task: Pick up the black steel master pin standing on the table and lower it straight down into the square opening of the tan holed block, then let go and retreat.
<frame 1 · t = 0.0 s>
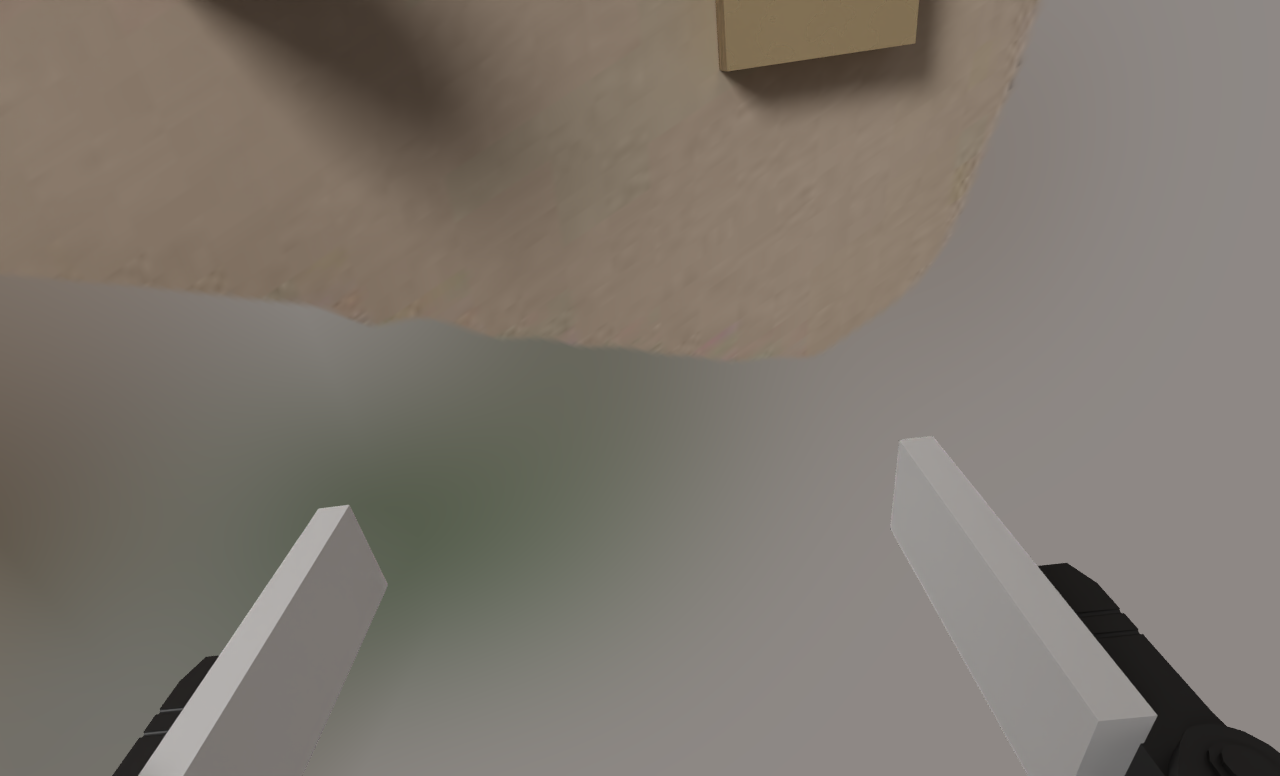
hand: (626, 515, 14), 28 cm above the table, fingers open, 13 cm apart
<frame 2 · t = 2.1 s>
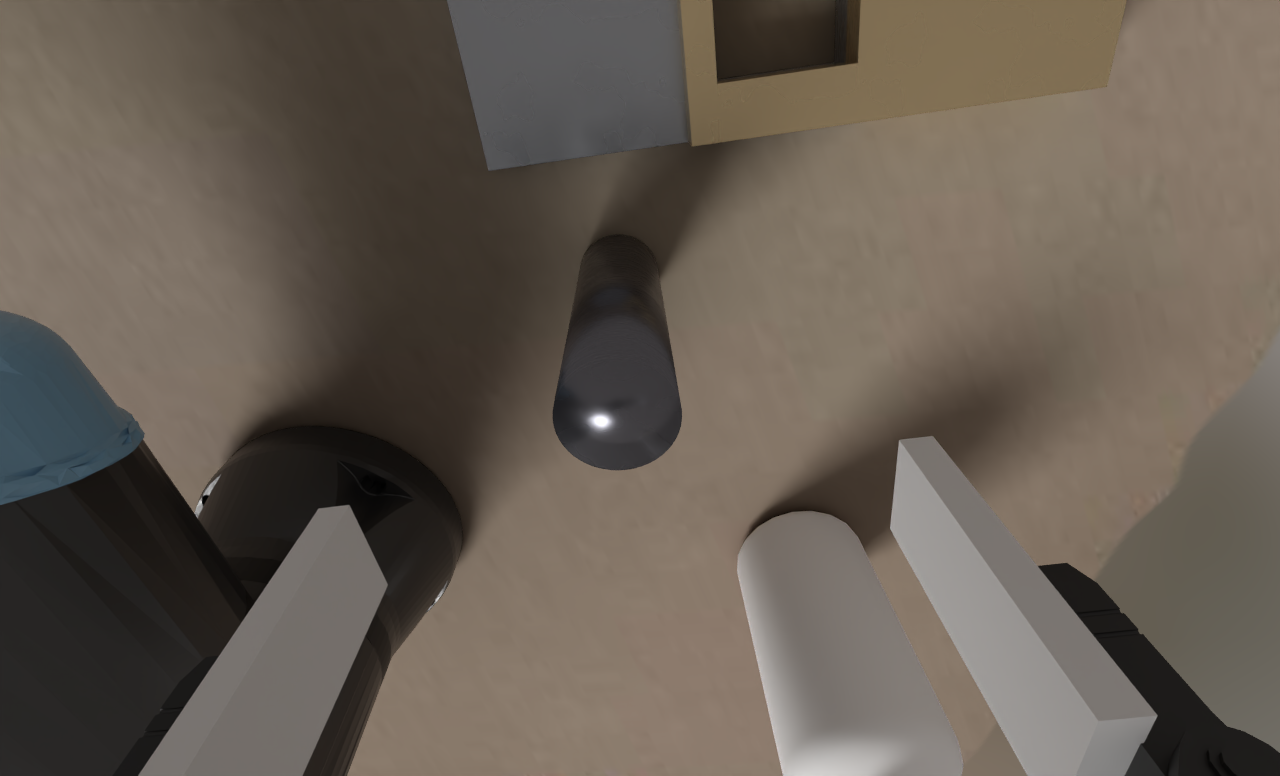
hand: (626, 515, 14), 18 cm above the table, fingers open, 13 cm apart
potion bottle: (794, 547, 41), on the table
master pin: (619, 273, 31), on the table
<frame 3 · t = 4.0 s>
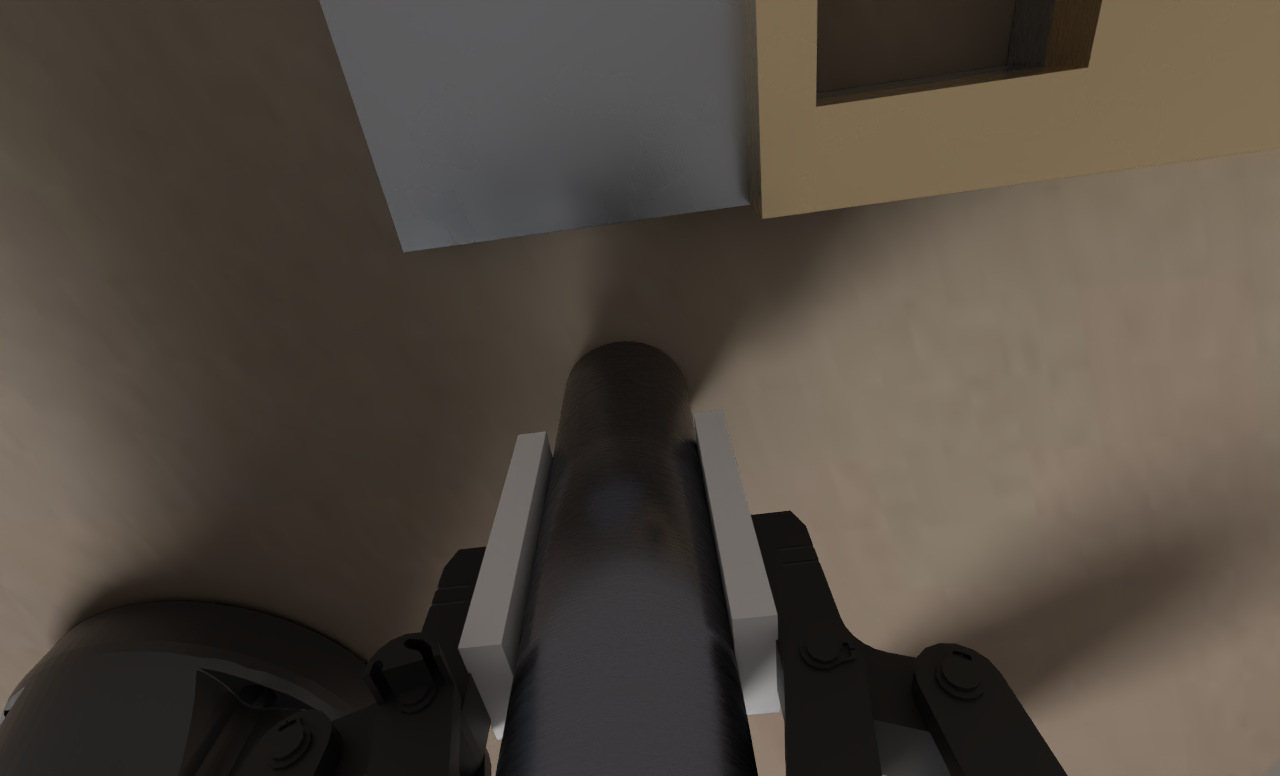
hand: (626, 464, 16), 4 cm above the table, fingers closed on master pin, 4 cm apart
master pin: (626, 397, 19), on the table, touching gripper
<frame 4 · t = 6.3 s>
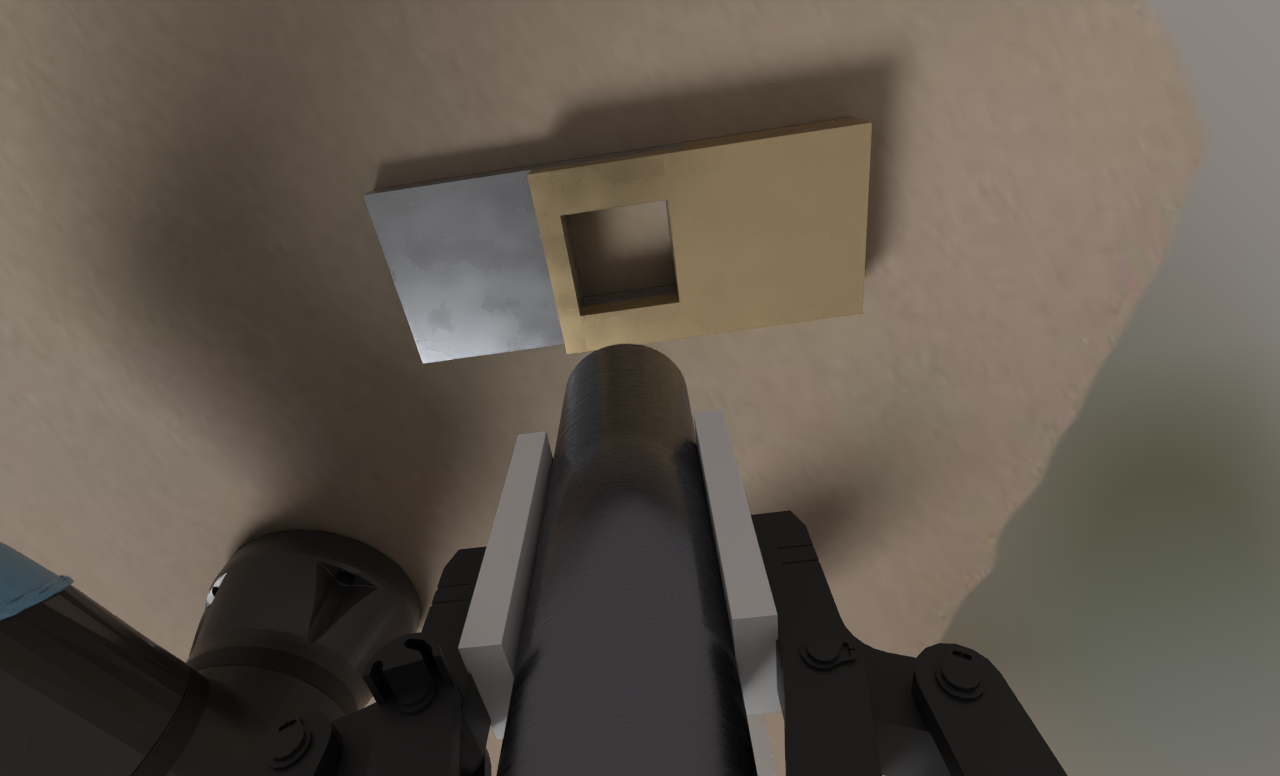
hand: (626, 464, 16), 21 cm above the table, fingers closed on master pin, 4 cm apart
potion bottle: (691, 614, 50), on the table
master pin: (626, 399, 19), point 17 cm above the table, touching gripper
tan holed block: (622, 245, 34), on the table
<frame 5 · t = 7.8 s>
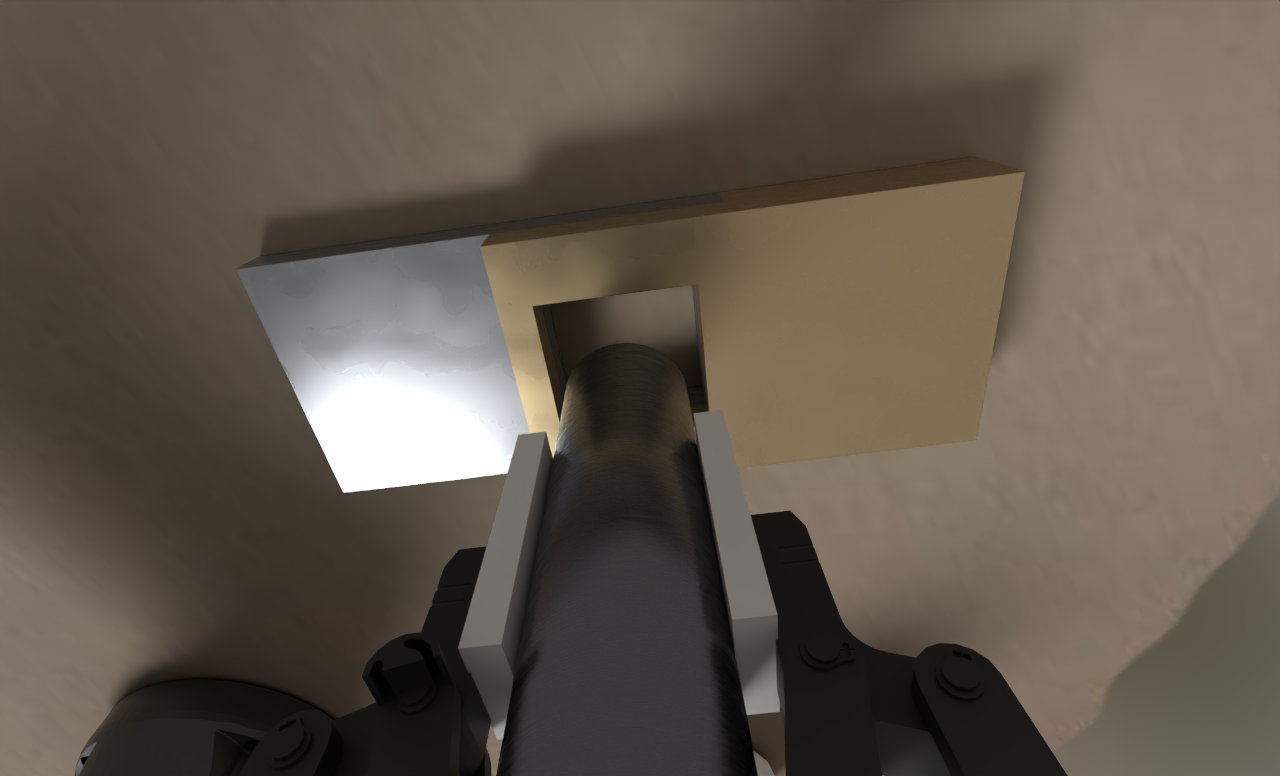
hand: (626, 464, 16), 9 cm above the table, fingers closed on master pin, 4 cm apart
potion bottle: (709, 766, 40), on the table
master pin: (626, 398, 19), point 5 cm above the table, touching gripper
tan holed block: (626, 334, 24), on the table
when the fingers open (5 cm above the table, at t = 8.9 s): master pin stays where it is, resting in tan holed block.
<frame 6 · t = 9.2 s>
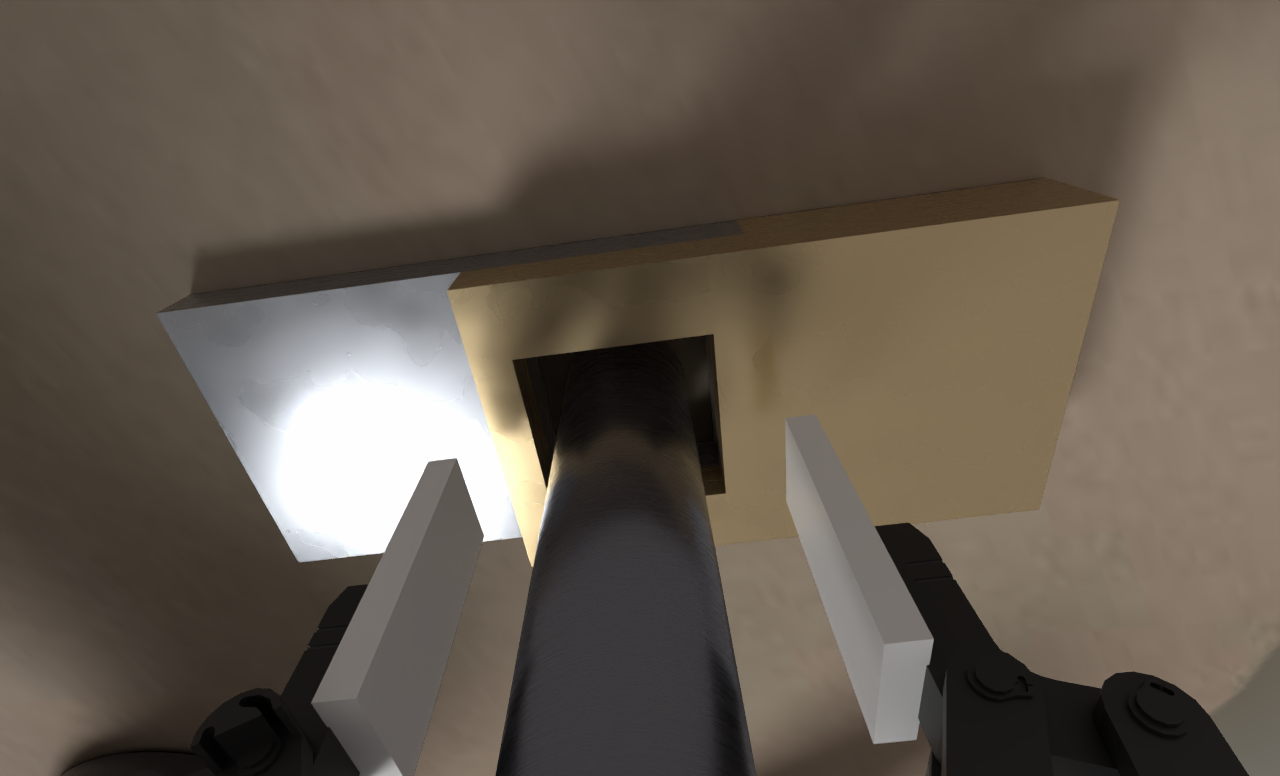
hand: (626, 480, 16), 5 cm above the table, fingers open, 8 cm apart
master pin: (625, 383, 20), resting in tan holed block
tan holed block: (626, 382, 20), on the table
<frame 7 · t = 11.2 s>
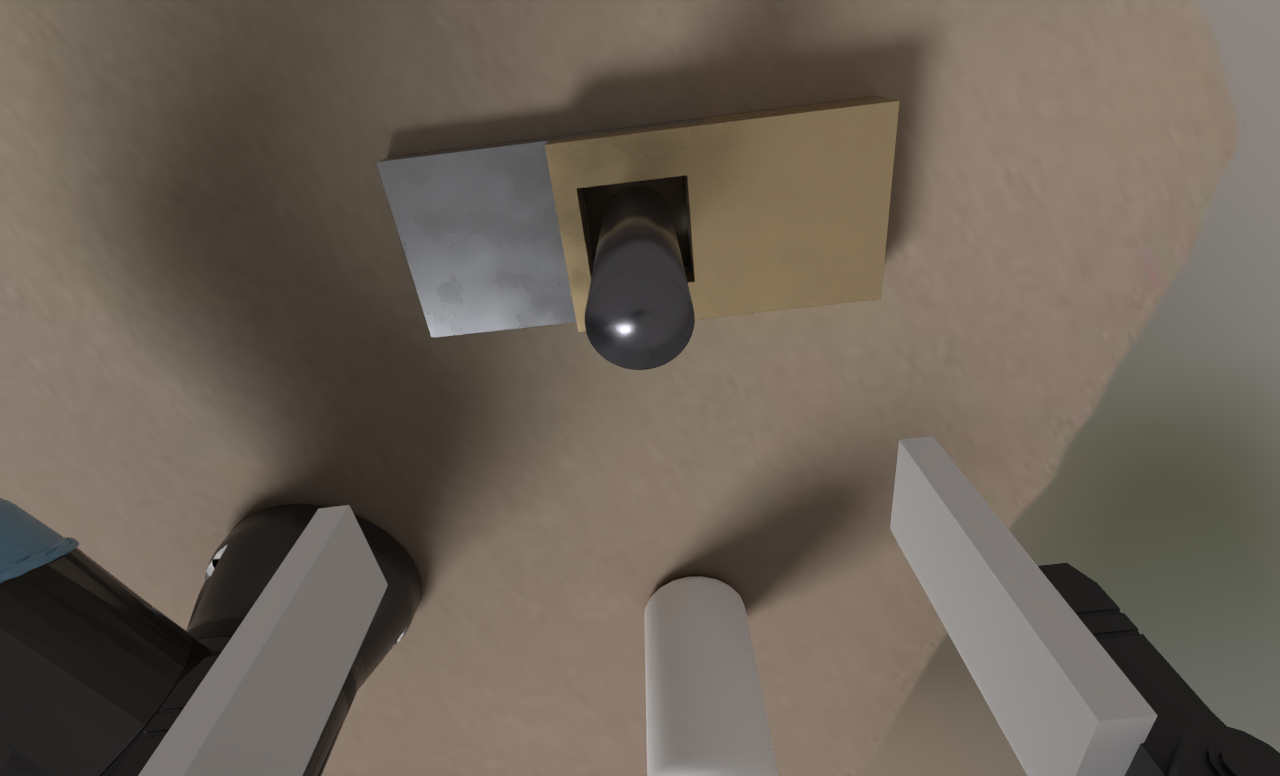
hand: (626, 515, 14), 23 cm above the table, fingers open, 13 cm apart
potion bottle: (693, 603, 50), on the table
master pin: (637, 223, 34), resting in tan holed block
tan holed block: (637, 222, 34), on the table
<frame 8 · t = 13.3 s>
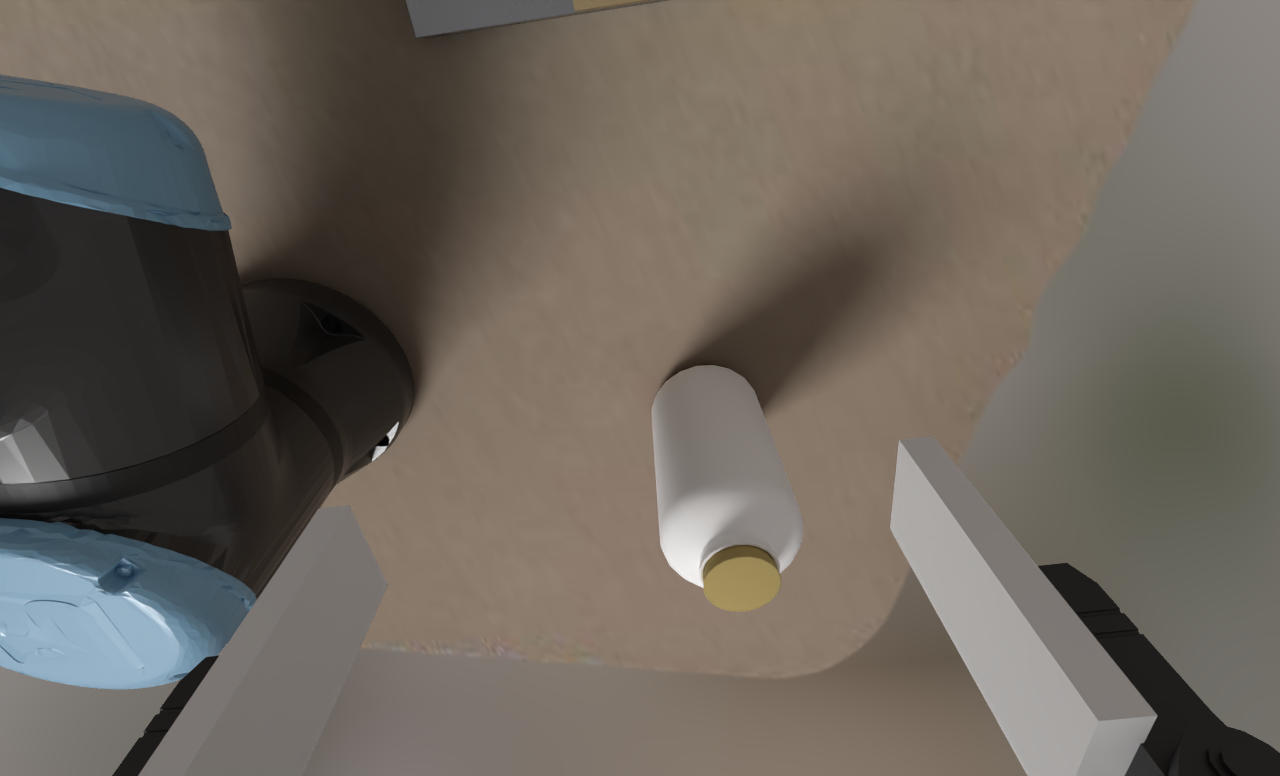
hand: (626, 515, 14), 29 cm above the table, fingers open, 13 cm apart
potion bottle: (703, 405, 47), on the table
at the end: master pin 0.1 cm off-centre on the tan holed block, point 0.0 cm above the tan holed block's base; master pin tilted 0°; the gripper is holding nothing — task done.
